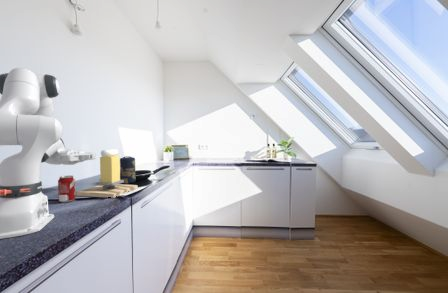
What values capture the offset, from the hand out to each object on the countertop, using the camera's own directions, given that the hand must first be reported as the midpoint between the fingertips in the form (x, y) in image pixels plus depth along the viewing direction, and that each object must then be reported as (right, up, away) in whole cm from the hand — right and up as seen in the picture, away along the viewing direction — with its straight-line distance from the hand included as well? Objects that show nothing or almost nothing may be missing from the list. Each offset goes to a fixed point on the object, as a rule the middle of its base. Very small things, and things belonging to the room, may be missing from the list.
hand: (91, 157), depth 133 cm
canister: (+11, -19, +25) cm, 33 cm away
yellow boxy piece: (+11, -15, -1) cm, 18 cm away
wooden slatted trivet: (+11, -19, -1) cm, 22 cm away
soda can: (0, -21, -20) cm, 29 cm away
